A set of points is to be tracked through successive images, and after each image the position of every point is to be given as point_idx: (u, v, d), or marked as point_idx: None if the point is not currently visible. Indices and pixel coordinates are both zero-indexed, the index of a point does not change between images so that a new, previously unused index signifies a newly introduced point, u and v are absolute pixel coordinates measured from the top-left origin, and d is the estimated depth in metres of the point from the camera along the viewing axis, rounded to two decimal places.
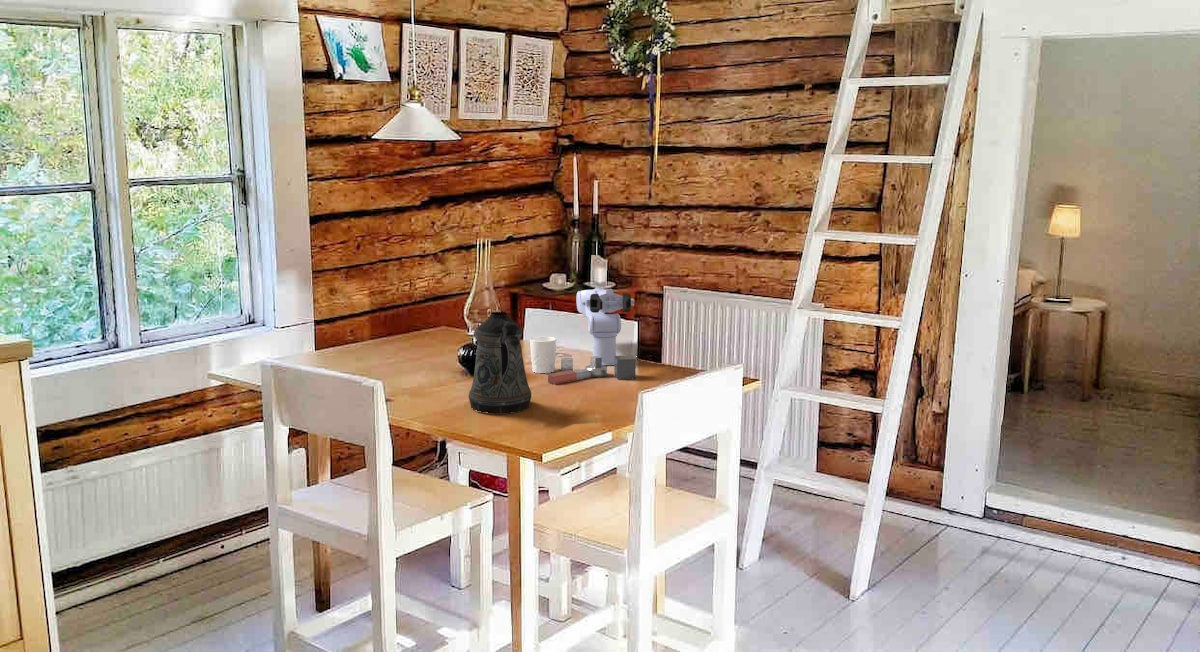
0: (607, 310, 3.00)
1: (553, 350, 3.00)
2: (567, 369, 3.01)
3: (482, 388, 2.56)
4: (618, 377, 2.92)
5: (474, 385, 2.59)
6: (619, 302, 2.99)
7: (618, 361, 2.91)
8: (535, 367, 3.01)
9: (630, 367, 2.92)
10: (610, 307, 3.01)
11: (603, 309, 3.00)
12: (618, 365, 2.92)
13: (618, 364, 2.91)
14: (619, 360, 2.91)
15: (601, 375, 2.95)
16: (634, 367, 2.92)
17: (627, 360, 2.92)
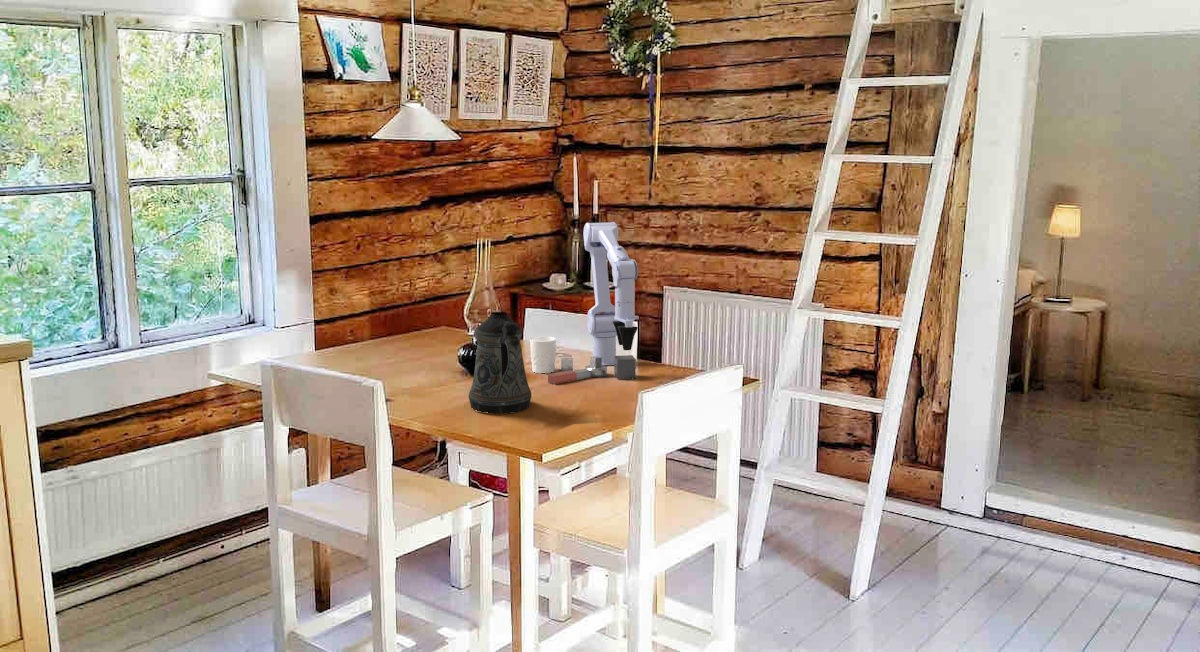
0: (617, 319, 2.91)
1: (553, 350, 3.00)
2: (567, 369, 3.01)
3: (482, 388, 2.56)
4: (618, 377, 2.92)
5: (474, 385, 2.59)
6: None
7: (618, 361, 2.91)
8: (535, 367, 3.01)
9: (630, 367, 2.92)
10: None
11: None
12: (618, 365, 2.92)
13: (618, 364, 2.91)
14: (619, 360, 2.91)
15: (601, 375, 2.95)
16: (634, 367, 2.92)
17: (627, 360, 2.92)
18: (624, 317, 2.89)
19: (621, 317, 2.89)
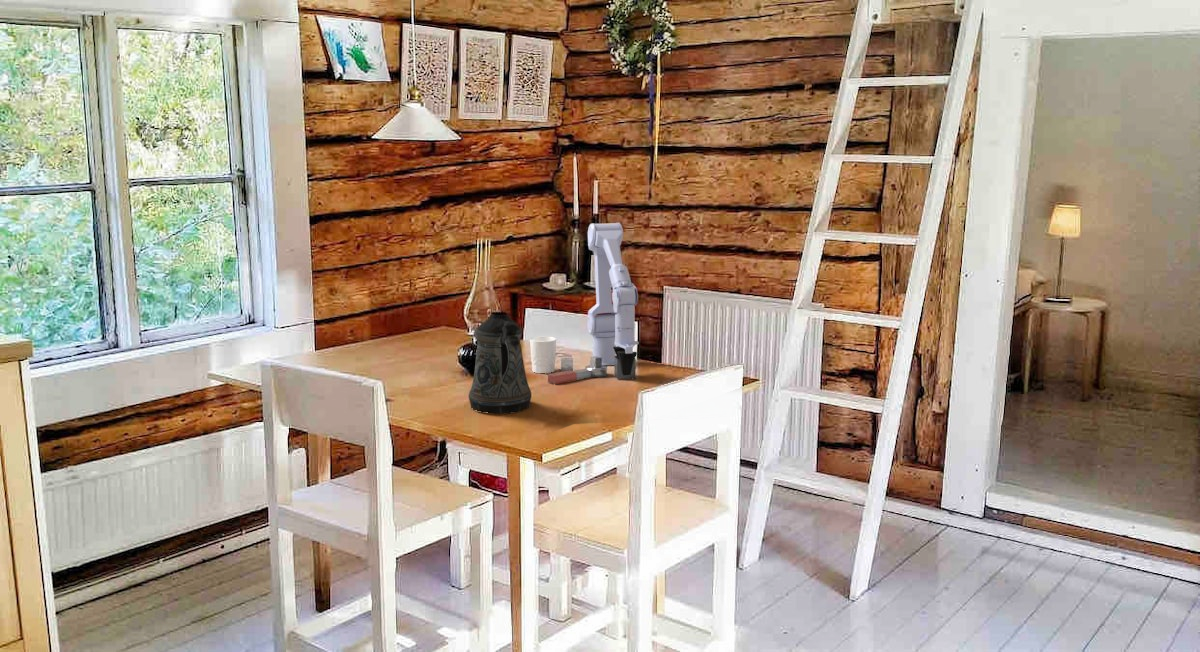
0: None
1: (553, 350, 3.00)
2: (567, 369, 3.01)
3: (482, 388, 2.56)
4: (618, 377, 2.92)
5: (474, 385, 2.59)
6: None
7: (618, 361, 2.91)
8: (535, 367, 3.01)
9: None
10: None
11: None
12: (618, 365, 2.92)
13: (618, 364, 2.91)
14: (619, 360, 2.91)
15: (601, 375, 2.95)
16: (634, 367, 2.92)
17: None
18: (624, 343, 2.90)
19: (621, 343, 2.91)
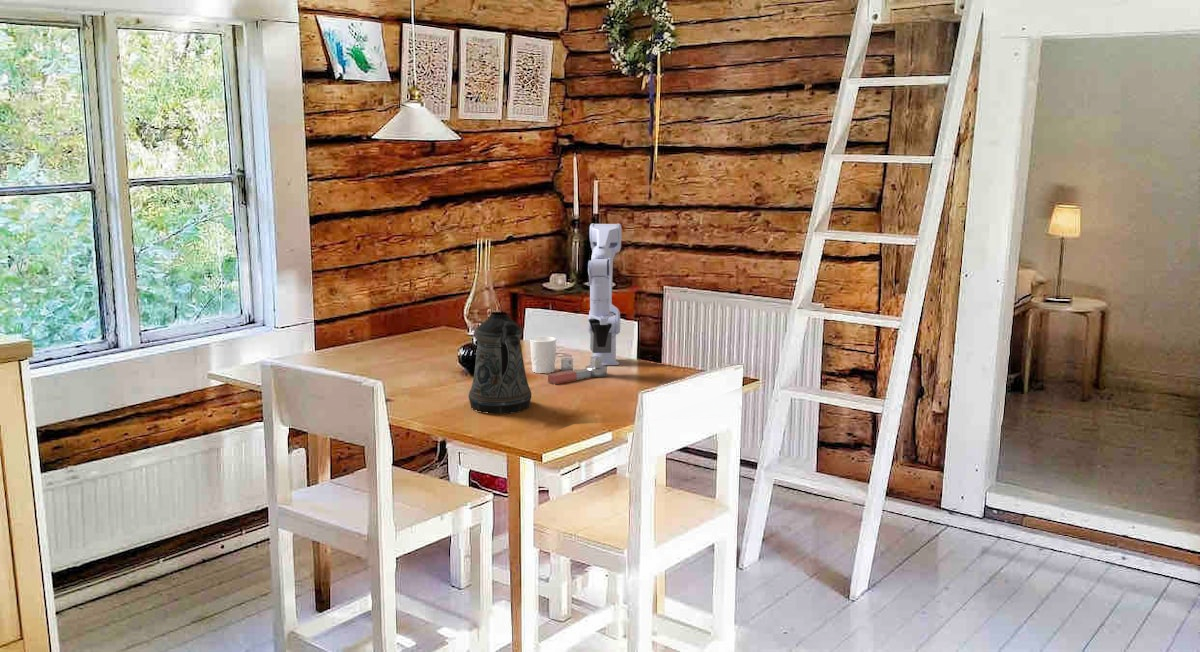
0: None
1: (553, 350, 3.00)
2: (567, 369, 3.01)
3: (482, 388, 2.56)
4: (594, 350, 2.93)
5: (474, 385, 2.59)
6: None
7: (594, 334, 2.92)
8: (535, 367, 3.01)
9: None
10: None
11: None
12: (594, 338, 2.93)
13: (594, 337, 2.93)
14: (595, 333, 2.92)
15: (601, 375, 2.95)
16: (610, 341, 2.94)
17: None
18: (599, 315, 2.91)
19: (596, 315, 2.92)
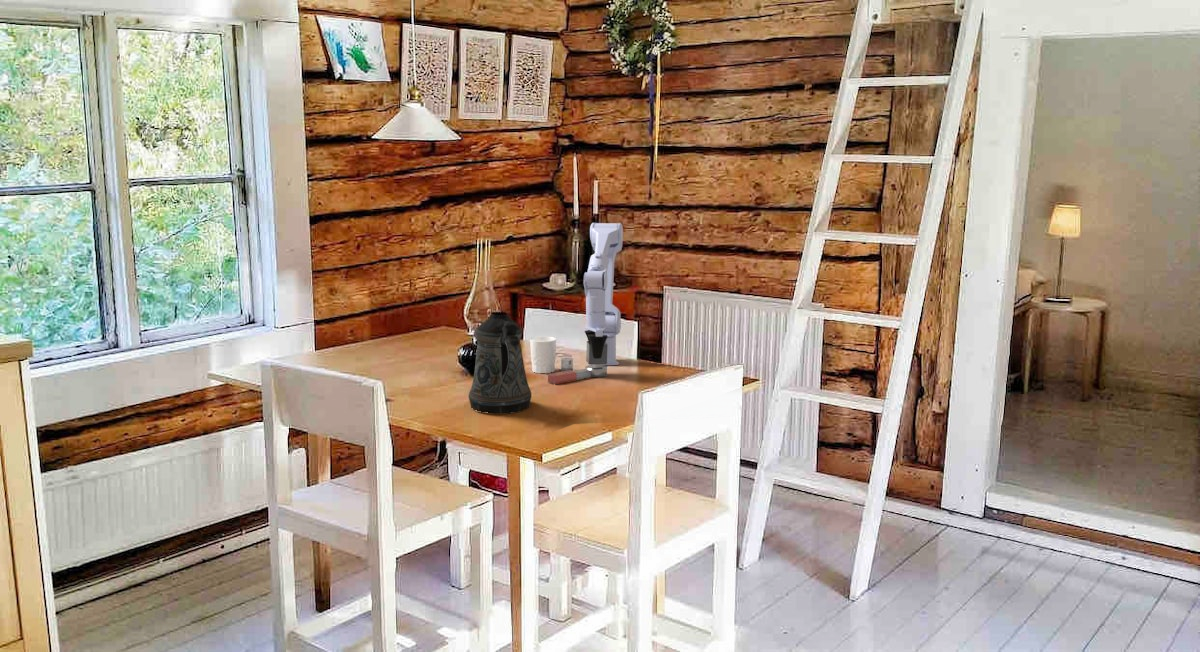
0: (588, 328, 2.94)
1: (553, 350, 3.00)
2: (567, 369, 3.01)
3: (482, 388, 2.56)
4: (589, 362, 2.94)
5: (474, 385, 2.59)
6: None
7: (590, 346, 2.93)
8: (535, 367, 3.01)
9: (602, 352, 2.94)
10: None
11: None
12: (590, 350, 2.94)
13: (590, 349, 2.94)
14: (591, 345, 2.93)
15: (601, 375, 2.95)
16: (606, 352, 2.94)
17: None
18: (595, 326, 2.92)
19: (592, 326, 2.93)
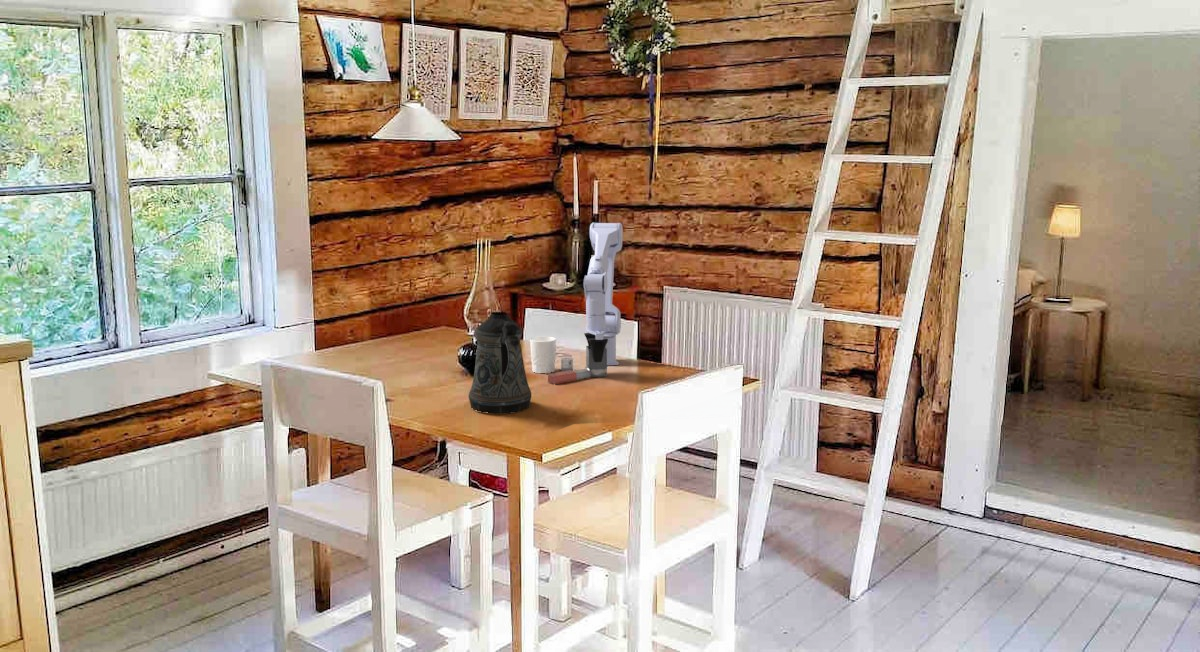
0: (588, 332, 2.95)
1: (553, 350, 3.00)
2: (567, 369, 3.01)
3: (482, 388, 2.56)
4: (589, 367, 2.94)
5: (474, 385, 2.59)
6: None
7: (589, 351, 2.94)
8: (535, 367, 3.01)
9: None
10: None
11: None
12: (589, 355, 2.94)
13: (589, 354, 2.94)
14: (590, 350, 2.94)
15: (601, 375, 2.95)
16: (605, 357, 2.95)
17: None
18: (595, 329, 2.93)
19: (592, 329, 2.93)
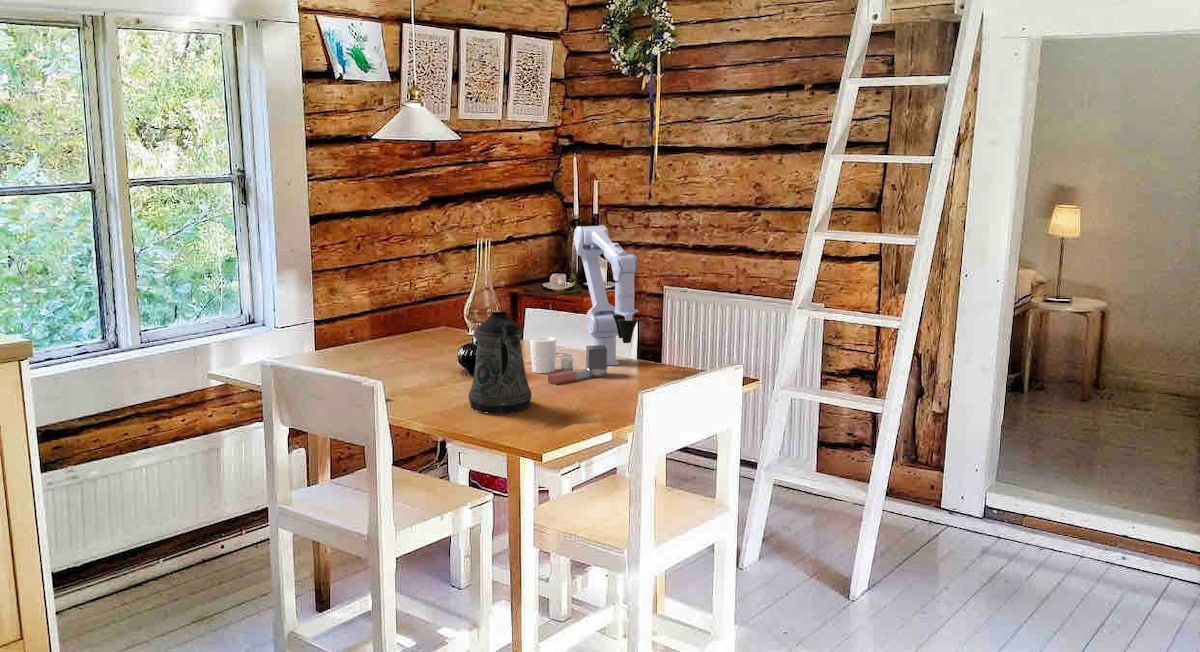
0: None
1: (553, 350, 3.00)
2: (567, 369, 3.01)
3: (482, 388, 2.56)
4: (589, 367, 2.94)
5: (474, 385, 2.59)
6: None
7: (589, 351, 2.94)
8: (535, 367, 3.01)
9: (601, 357, 2.94)
10: None
11: None
12: (589, 355, 2.94)
13: (589, 354, 2.94)
14: (590, 350, 2.94)
15: (601, 375, 2.95)
16: (605, 357, 2.95)
17: (598, 350, 2.94)
18: (624, 310, 2.95)
19: (621, 310, 2.95)
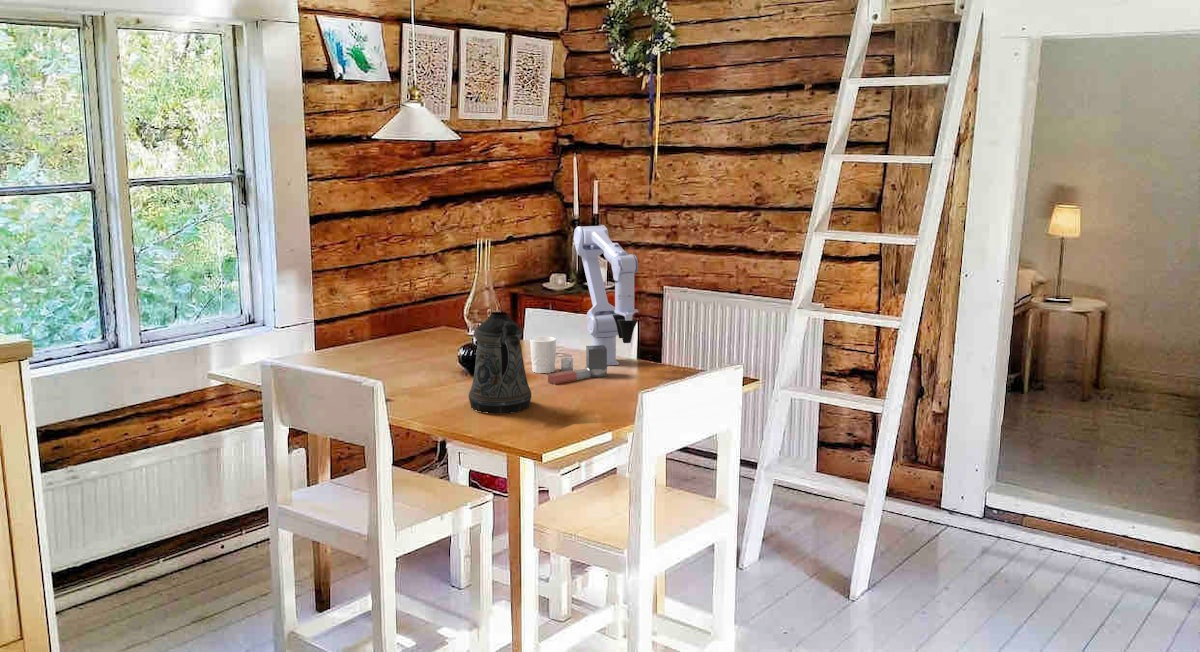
0: None
1: (553, 350, 3.00)
2: (567, 369, 3.01)
3: (482, 388, 2.56)
4: (589, 367, 2.94)
5: (474, 385, 2.59)
6: None
7: (589, 351, 2.94)
8: (535, 367, 3.01)
9: (601, 357, 2.94)
10: None
11: None
12: (589, 355, 2.94)
13: (589, 354, 2.94)
14: (590, 350, 2.94)
15: (601, 375, 2.95)
16: (605, 357, 2.95)
17: (598, 350, 2.94)
18: (624, 310, 2.95)
19: (621, 310, 2.95)
